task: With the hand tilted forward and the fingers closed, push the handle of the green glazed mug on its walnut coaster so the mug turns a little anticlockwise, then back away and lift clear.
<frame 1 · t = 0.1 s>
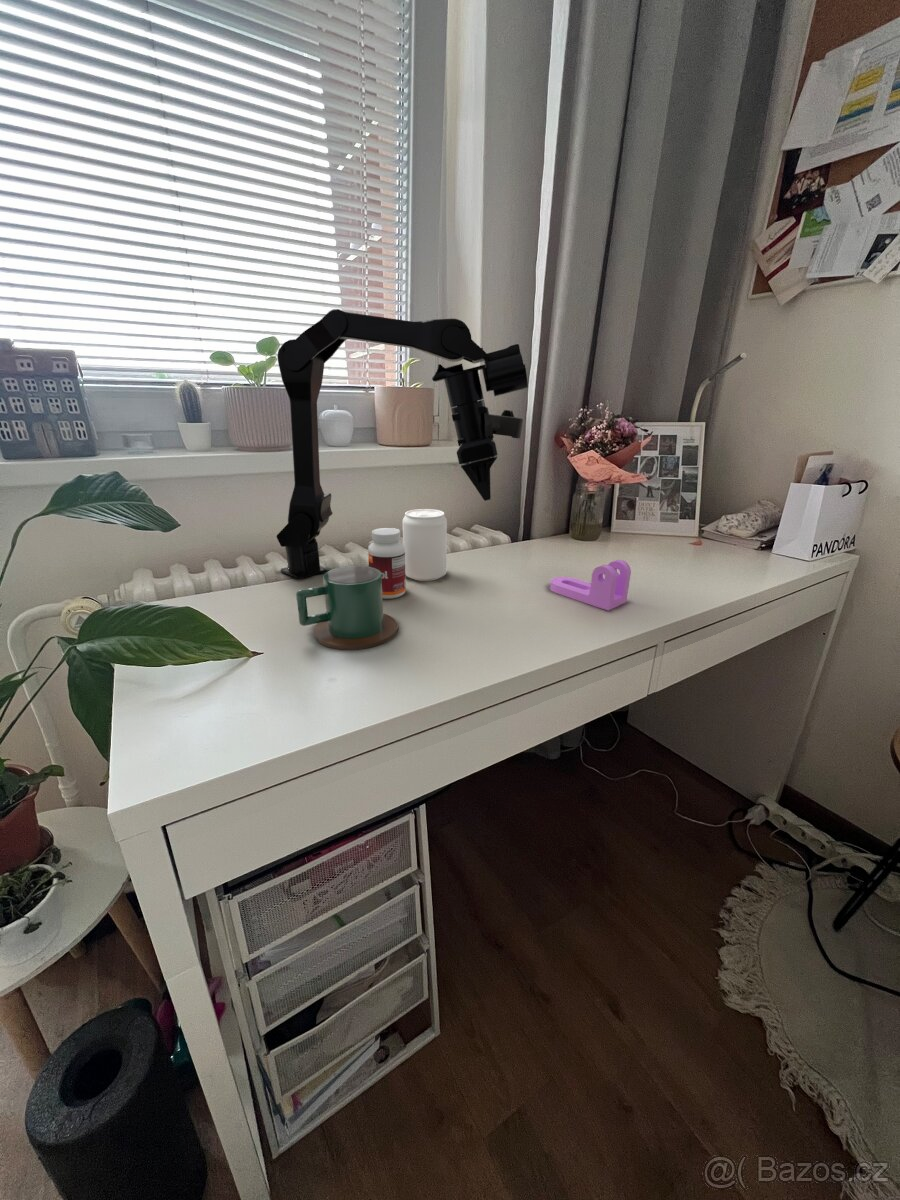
hand: (486, 495, 90), 15 cm above the table, tool pointing down, fingers open, 9 cm apart
beverage can: (425, 576, 96), on the table
bracket: (583, 596, 87), on the table
pill bottle: (388, 594, 87), on the table
mug: (341, 603, 71), point 5 cm above the table, hinge at 0.0°
coaster: (356, 630, 73), on the table
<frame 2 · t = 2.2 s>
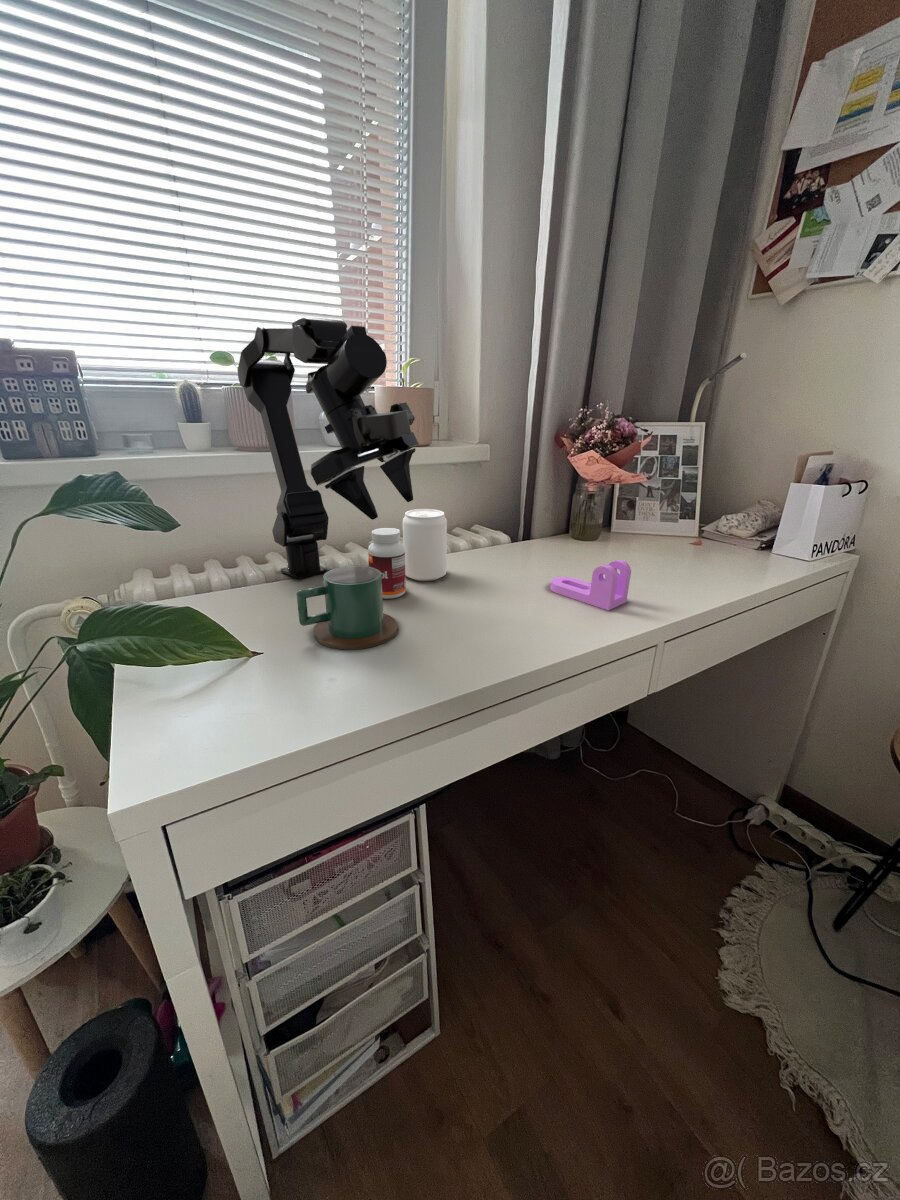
hand: (393, 509, 75), 16 cm above the table, tool tilted 25°, fingers open, 9 cm apart
nothing on the table moved.
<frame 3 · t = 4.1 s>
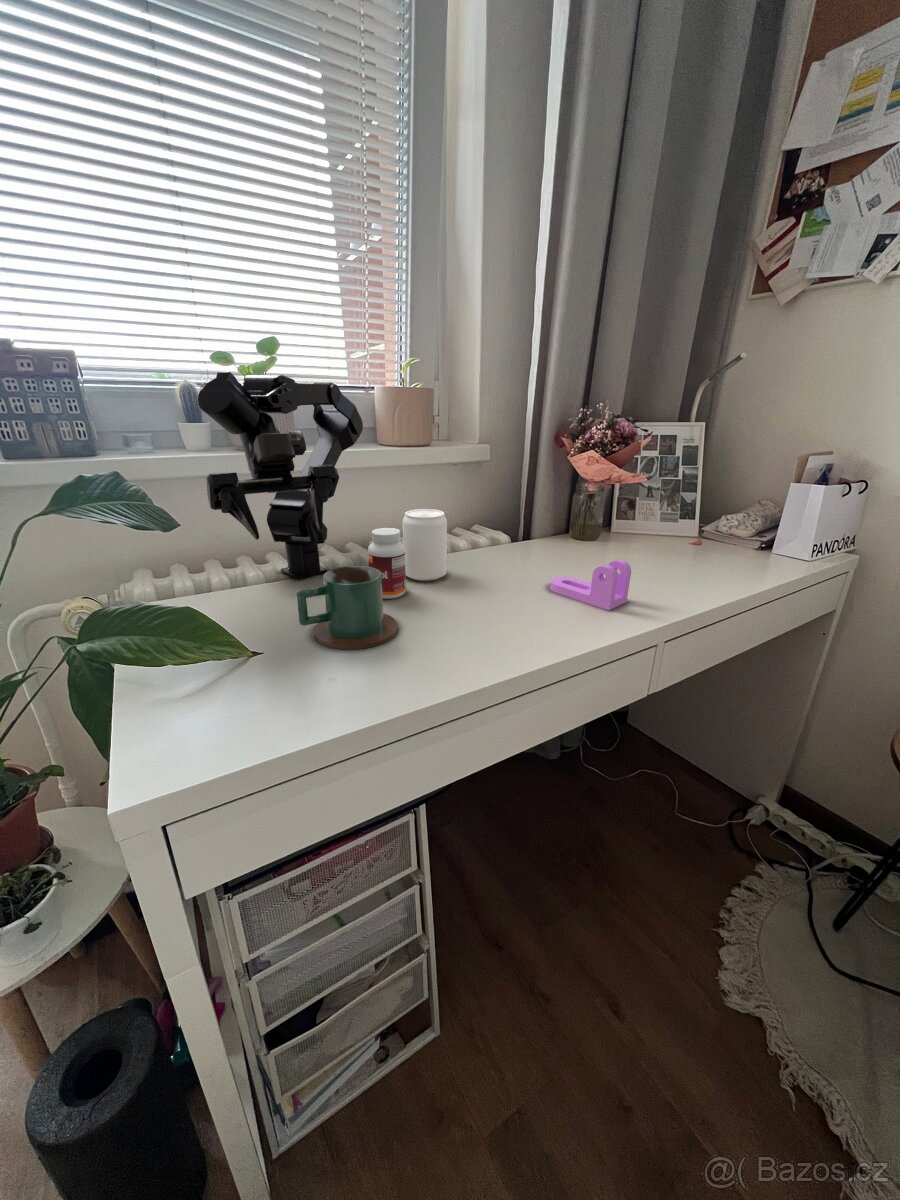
hand: (290, 533, 74), 13 cm above the table, tool tilted 45°, fingers open, 9 cm apart
nothing on the table moved.
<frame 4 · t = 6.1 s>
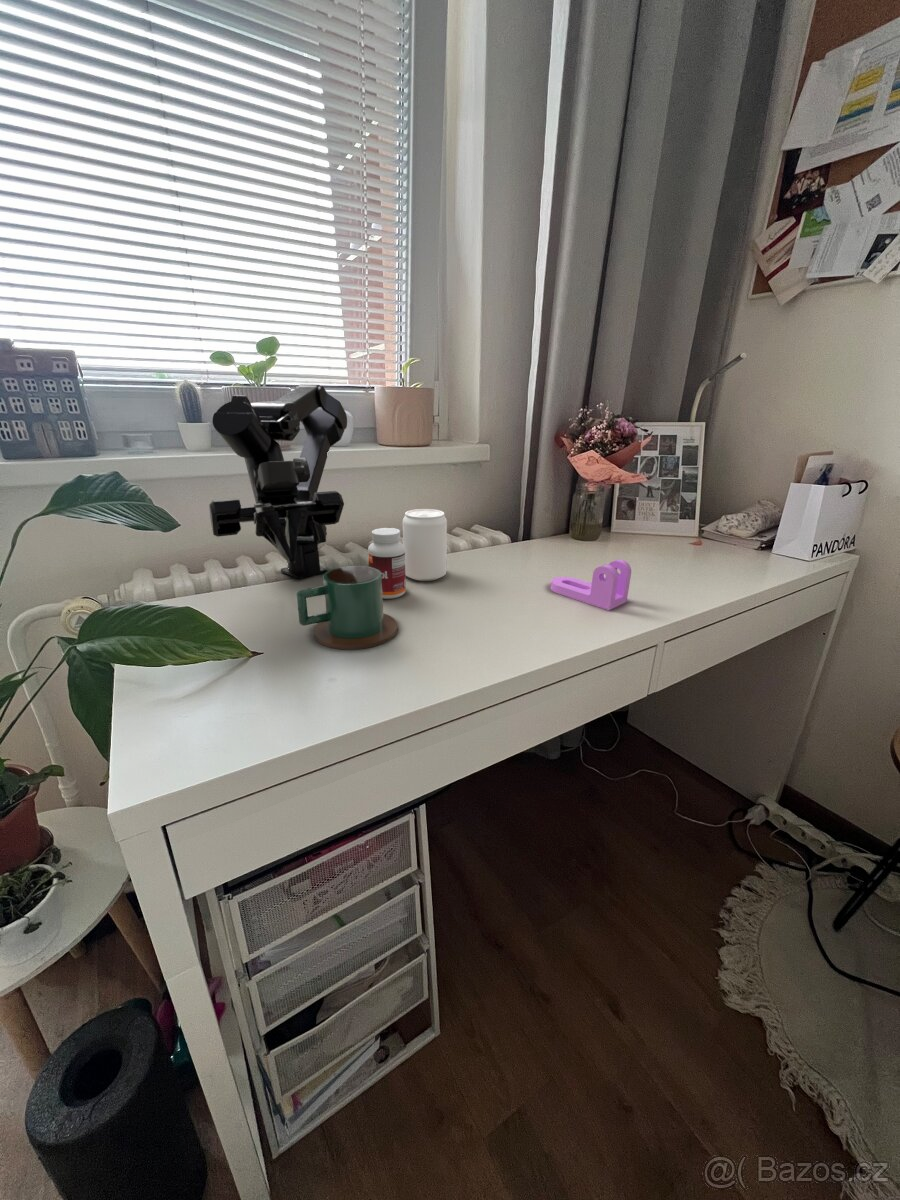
hand: (292, 561, 73), 9 cm above the table, tool tilted 45°, fingers closed
nothing on the table moved.
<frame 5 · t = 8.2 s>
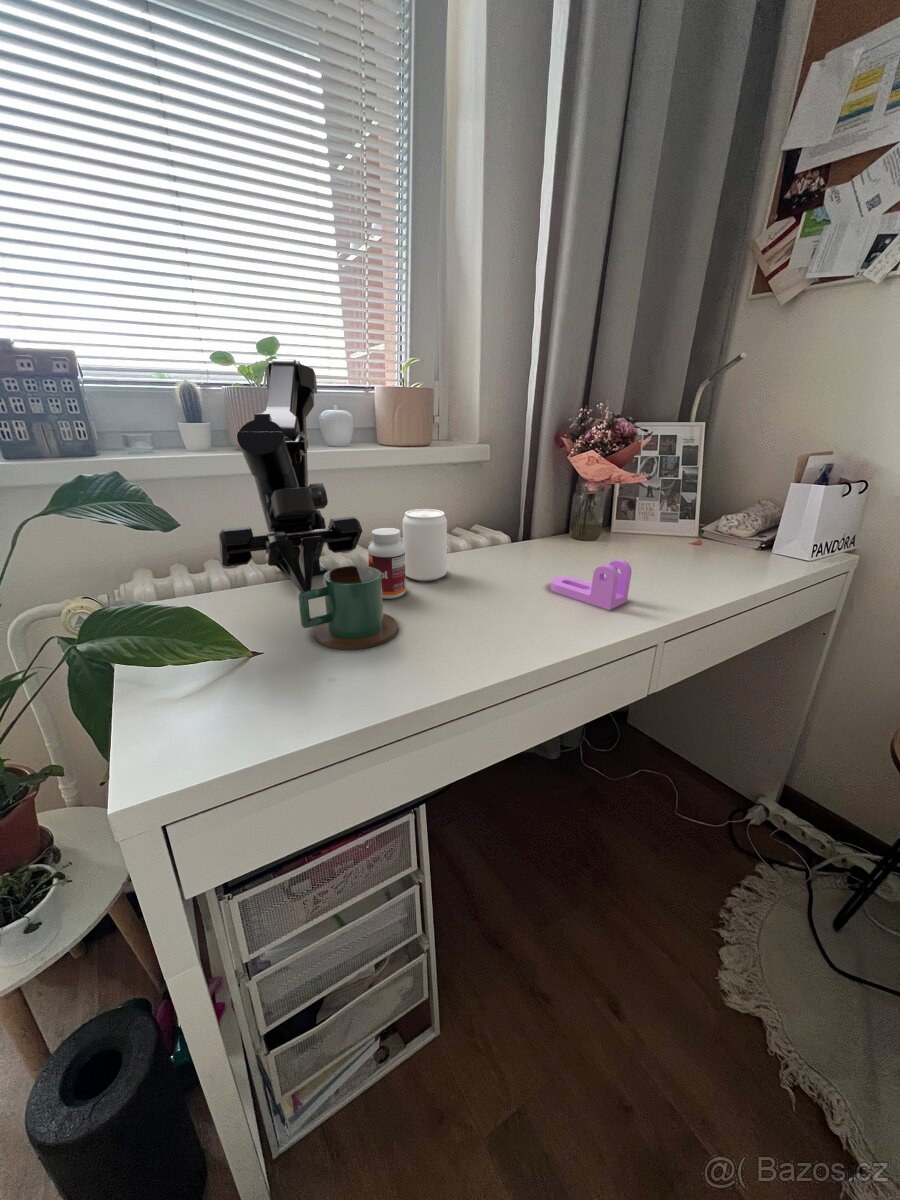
hand: (307, 594, 68), 7 cm above the table, tool tilted 45°, fingers closed, pressing on mug
mug: (341, 604, 70), point 5 cm above the table, hinge at 7.0°, touching gripper
everything else where it was.
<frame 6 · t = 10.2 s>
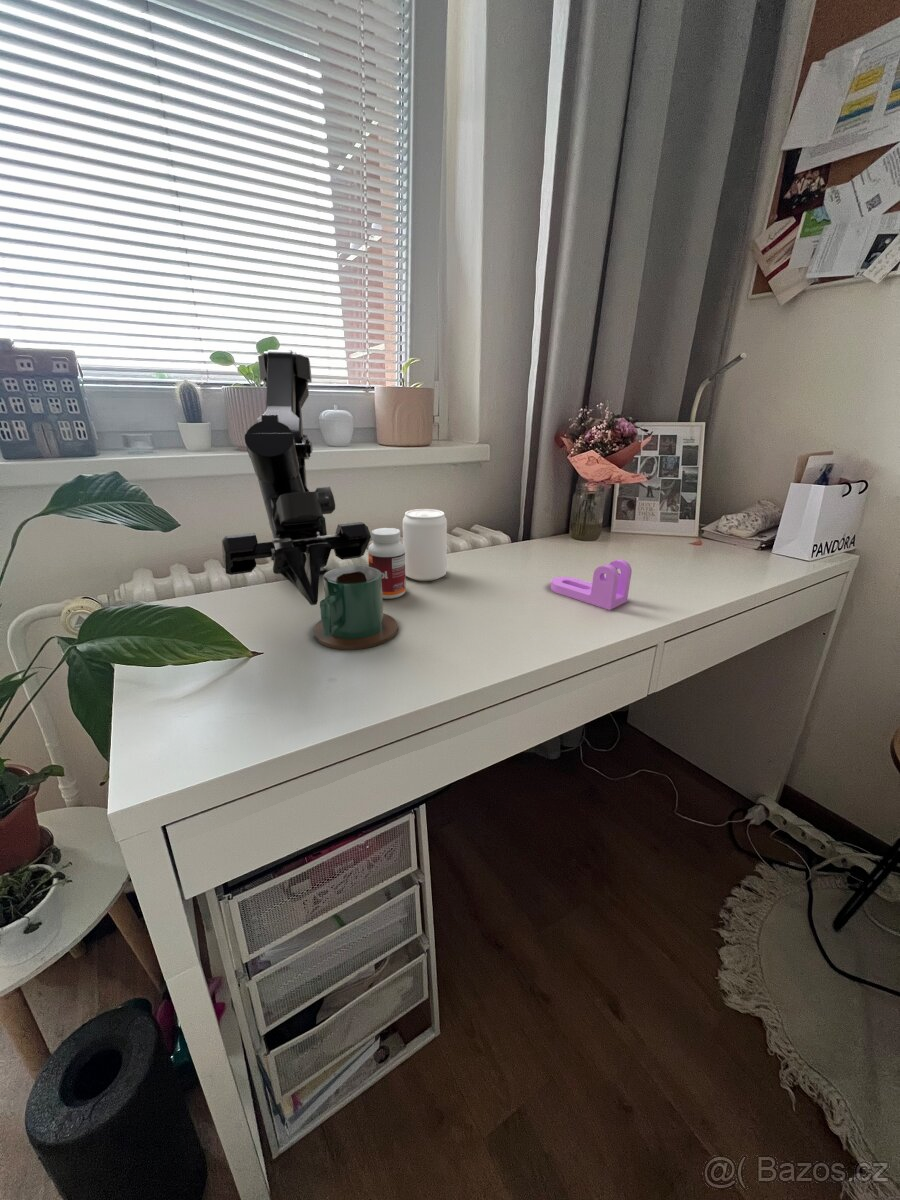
hand: (314, 603, 65), 7 cm above the table, tool tilted 45°, fingers closed
mug: (347, 606, 70), point 5 cm above the table, hinge at 41.2°, touching gripper
everything else where it was.
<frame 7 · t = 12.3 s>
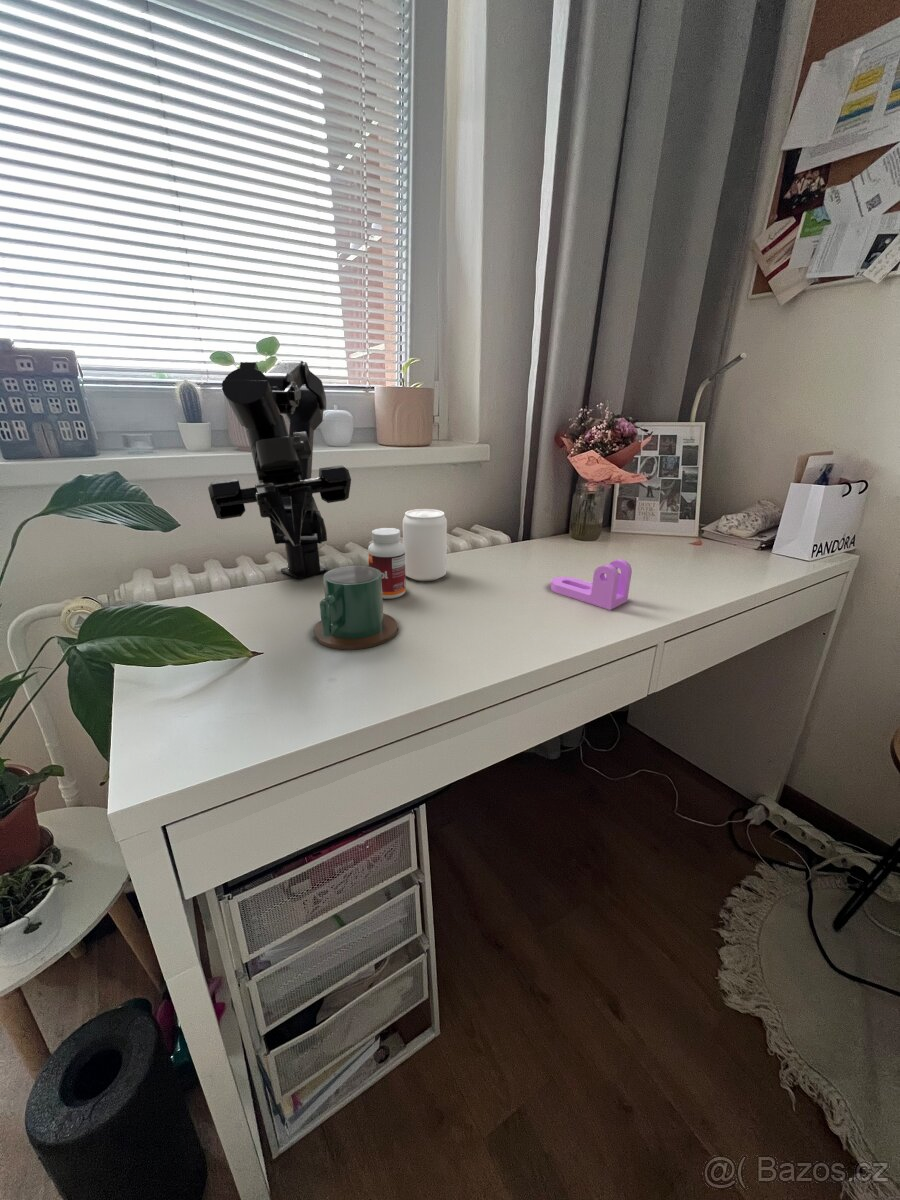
hand: (297, 544, 69), 13 cm above the table, tool tilted 40°, fingers closed
mug: (347, 606, 70), point 5 cm above the table, hinge at 40.9°
everything else where it was.
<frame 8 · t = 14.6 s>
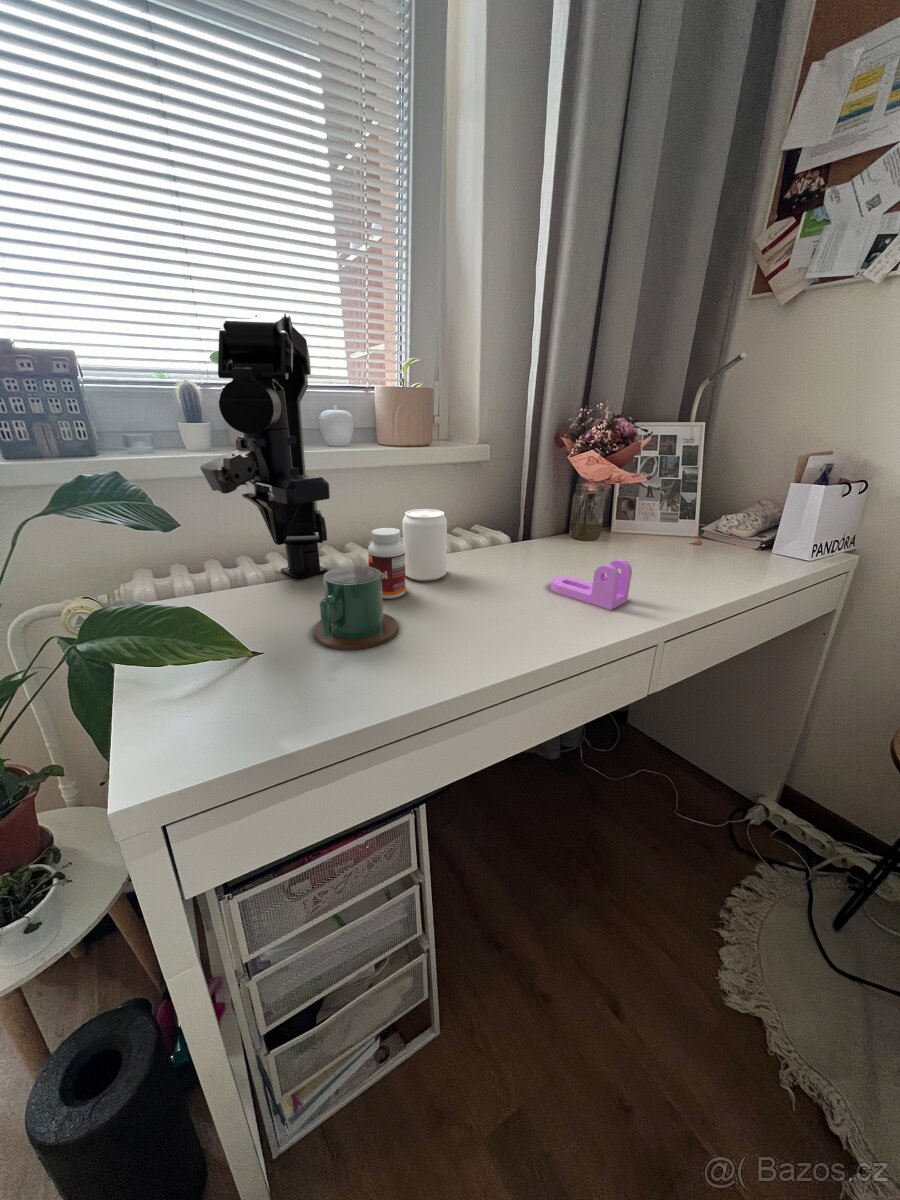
hand: (279, 544, 72), 12 cm above the table, tool pointing down, fingers closed
nothing on the table moved.
at the end: mug at +41° (first picture: +0°) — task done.
